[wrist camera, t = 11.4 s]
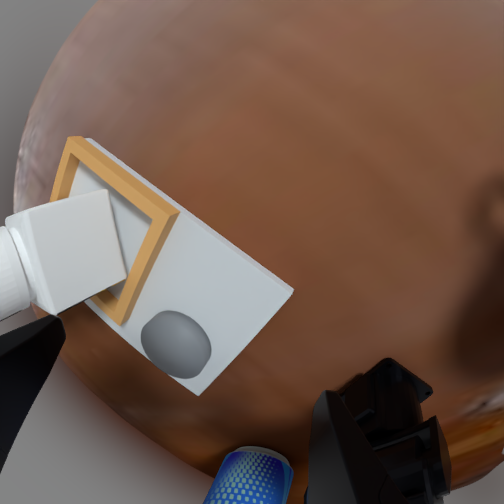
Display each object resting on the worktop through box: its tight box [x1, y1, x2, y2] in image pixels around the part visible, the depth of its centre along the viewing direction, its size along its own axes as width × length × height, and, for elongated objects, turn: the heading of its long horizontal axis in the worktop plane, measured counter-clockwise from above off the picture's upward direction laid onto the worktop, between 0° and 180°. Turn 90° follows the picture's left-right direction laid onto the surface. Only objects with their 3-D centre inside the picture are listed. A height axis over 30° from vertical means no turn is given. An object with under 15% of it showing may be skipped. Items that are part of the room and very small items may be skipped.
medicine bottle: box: [0, 189, 127, 321], centre depth 17 cm, size 7×7×12 cm
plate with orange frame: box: [50, 136, 294, 396], centre depth 23 cm, size 22×15×2 cm
